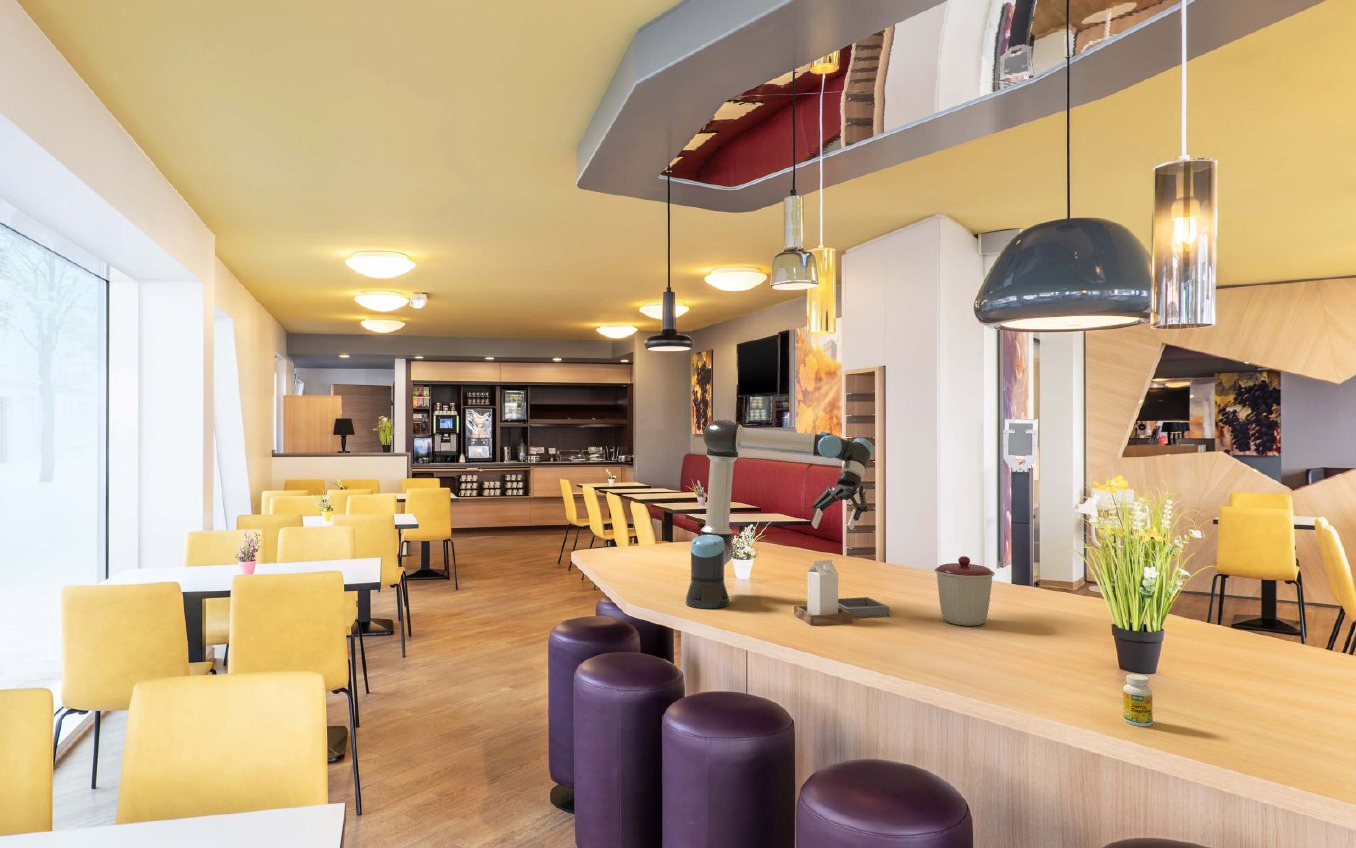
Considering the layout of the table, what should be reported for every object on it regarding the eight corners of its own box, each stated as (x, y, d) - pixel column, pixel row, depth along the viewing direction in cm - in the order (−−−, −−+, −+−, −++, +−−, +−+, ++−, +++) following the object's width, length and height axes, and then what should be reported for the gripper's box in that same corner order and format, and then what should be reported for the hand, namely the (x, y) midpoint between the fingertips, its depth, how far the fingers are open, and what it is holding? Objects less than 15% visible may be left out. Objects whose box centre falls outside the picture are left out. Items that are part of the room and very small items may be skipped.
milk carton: (807, 617, 259) (807, 559, 259) (825, 615, 262) (825, 558, 262) (819, 622, 252) (820, 562, 252) (838, 620, 255) (838, 561, 255)
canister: (985, 616, 262) (985, 552, 262) (1002, 630, 244) (1002, 561, 244) (928, 615, 263) (929, 551, 264) (941, 628, 245) (941, 560, 246)
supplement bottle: (1146, 718, 170) (1146, 673, 170) (1157, 728, 164) (1157, 681, 164) (1118, 717, 170) (1119, 672, 171) (1129, 726, 165) (1129, 680, 165)
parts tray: (828, 607, 273) (828, 599, 273) (867, 605, 277) (867, 597, 277) (847, 618, 259) (847, 608, 259) (889, 615, 262) (889, 606, 262)
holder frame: (794, 615, 262) (794, 606, 262) (833, 613, 266) (833, 604, 266) (811, 625, 249) (811, 615, 249) (852, 623, 252) (852, 613, 252)
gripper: (888, 483, 268) (870, 535, 256) (824, 484, 284) (804, 532, 273) (879, 469, 264) (861, 520, 252) (815, 470, 280) (794, 519, 269)
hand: (831, 527), depth 263 cm, fingers open, 13 cm apart
